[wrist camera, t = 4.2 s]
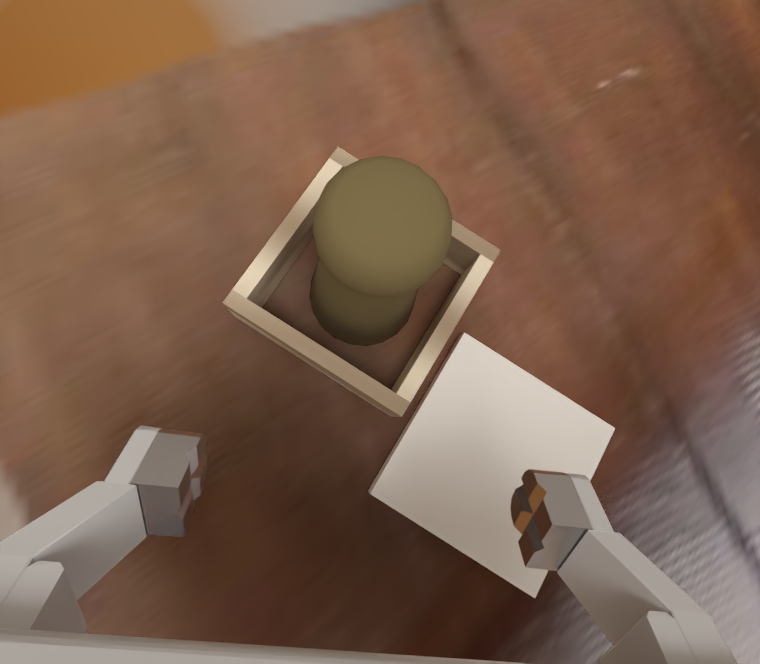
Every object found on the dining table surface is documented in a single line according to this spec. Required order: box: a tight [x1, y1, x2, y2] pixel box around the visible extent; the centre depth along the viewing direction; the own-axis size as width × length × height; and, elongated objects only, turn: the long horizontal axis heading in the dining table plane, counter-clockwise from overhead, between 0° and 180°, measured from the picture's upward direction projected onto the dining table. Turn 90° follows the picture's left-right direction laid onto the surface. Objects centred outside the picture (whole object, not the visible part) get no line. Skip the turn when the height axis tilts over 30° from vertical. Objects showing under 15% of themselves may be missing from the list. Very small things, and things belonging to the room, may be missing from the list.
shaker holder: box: [223, 147, 501, 417], centre depth 24 cm, size 10×10×4 cm
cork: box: [310, 156, 452, 346], centre depth 21 cm, size 6×6×11 cm
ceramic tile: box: [368, 332, 615, 598], centre depth 25 cm, size 10×10×1 cm
